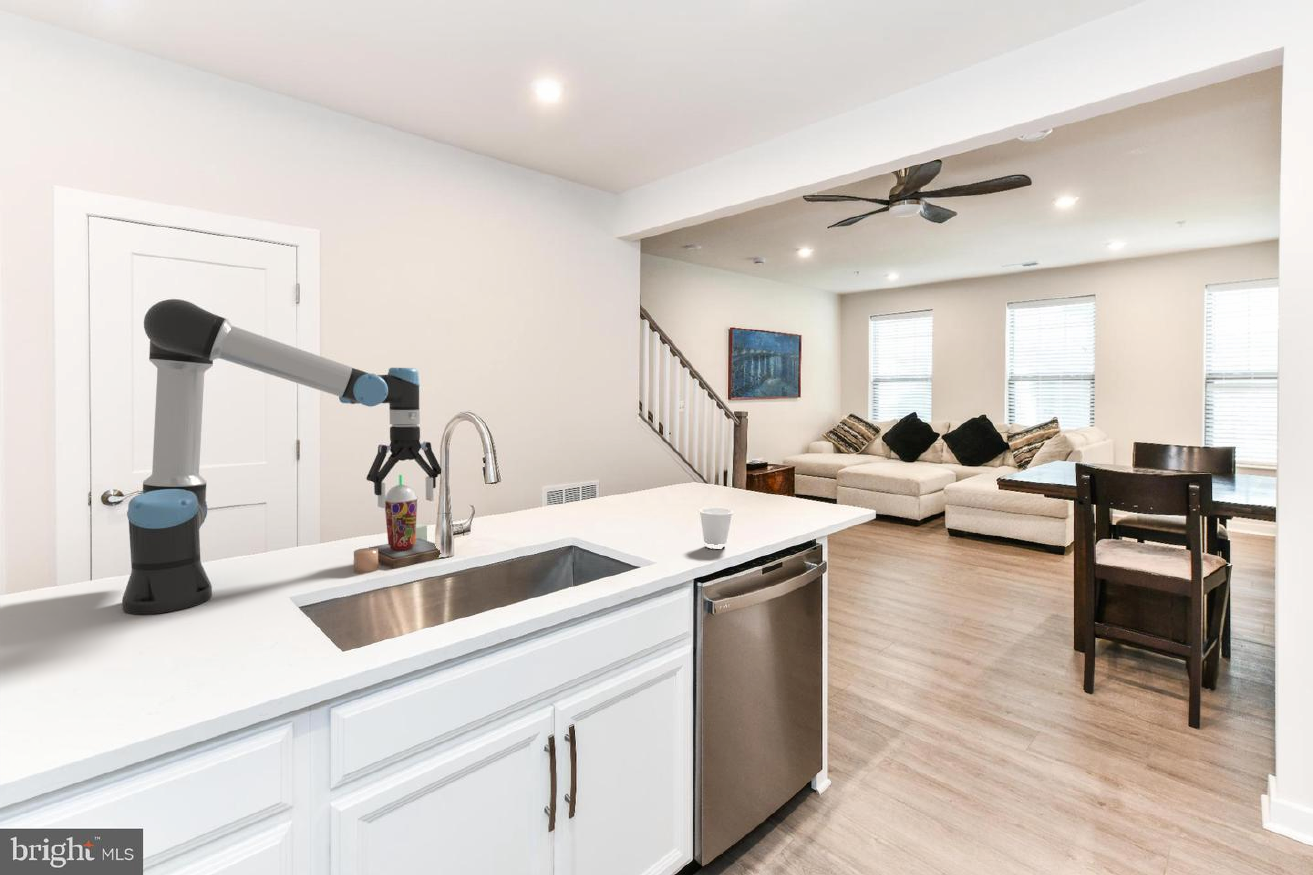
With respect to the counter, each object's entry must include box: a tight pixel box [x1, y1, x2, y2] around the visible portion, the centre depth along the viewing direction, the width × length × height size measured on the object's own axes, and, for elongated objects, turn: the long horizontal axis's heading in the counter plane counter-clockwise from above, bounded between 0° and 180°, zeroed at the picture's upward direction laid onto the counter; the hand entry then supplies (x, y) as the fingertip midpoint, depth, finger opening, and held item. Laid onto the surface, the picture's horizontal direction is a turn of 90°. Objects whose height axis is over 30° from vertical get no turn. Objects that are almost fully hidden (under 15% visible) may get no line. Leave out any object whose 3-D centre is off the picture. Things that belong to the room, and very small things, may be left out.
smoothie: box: [384, 474, 418, 551], centre depth 170 cm, size 8×8×20 cm
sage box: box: [416, 523, 428, 541], centre depth 187 cm, size 5×5×5 cm
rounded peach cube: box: [353, 547, 379, 574], centre depth 159 cm, size 6×6×5 cm
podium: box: [368, 538, 441, 570], centre depth 172 cm, size 16×16×3 cm
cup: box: [698, 507, 734, 545], centre depth 186 cm, size 10×10×11 cm
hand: (406, 503), depth 171 cm, fingers open, 13 cm apart
